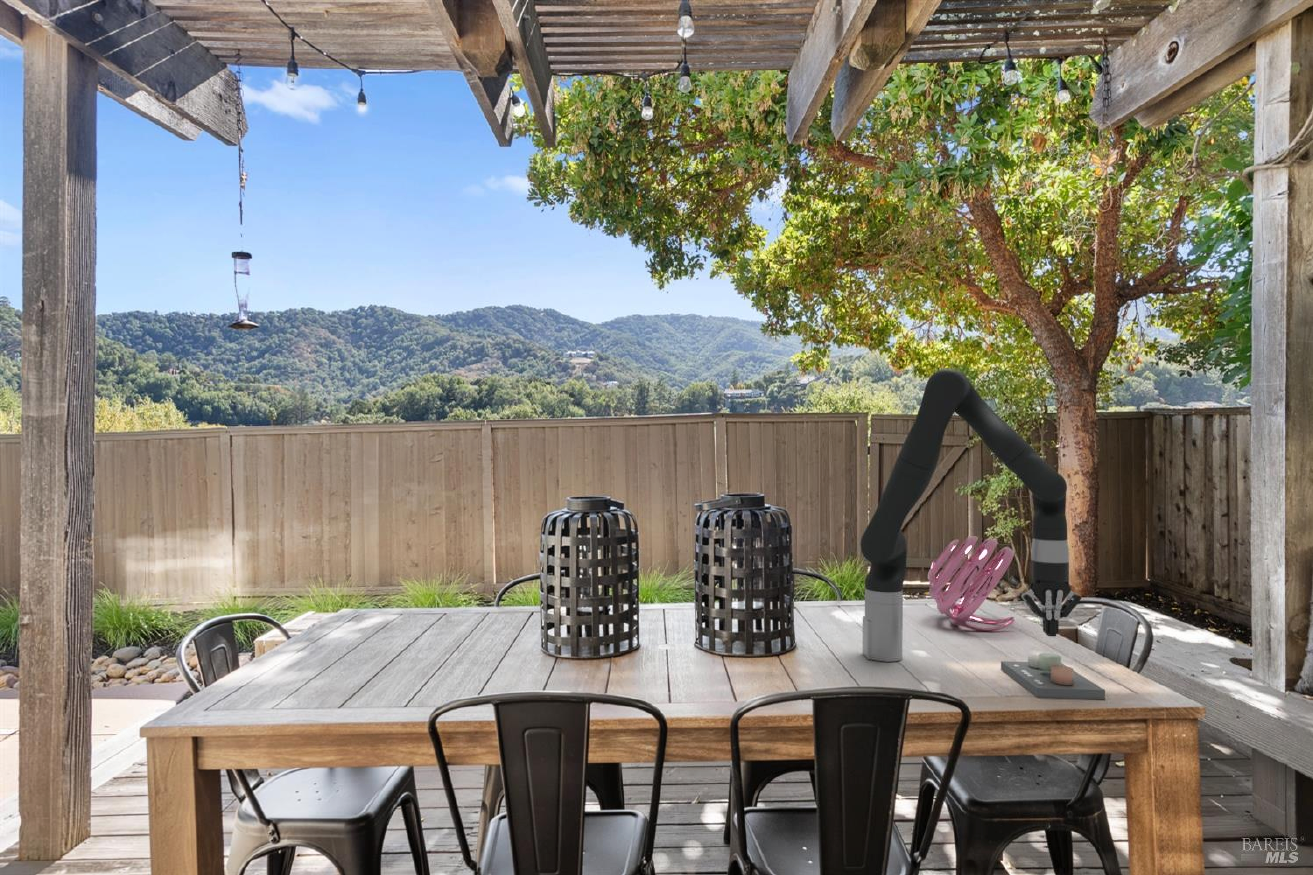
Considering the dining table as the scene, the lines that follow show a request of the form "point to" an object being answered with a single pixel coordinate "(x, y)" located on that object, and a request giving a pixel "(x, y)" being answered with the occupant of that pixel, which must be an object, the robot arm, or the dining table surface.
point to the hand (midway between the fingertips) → (1050, 635)
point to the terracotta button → (1062, 675)
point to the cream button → (1034, 658)
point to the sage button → (1048, 661)
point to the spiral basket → (968, 581)
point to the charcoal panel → (1051, 683)
